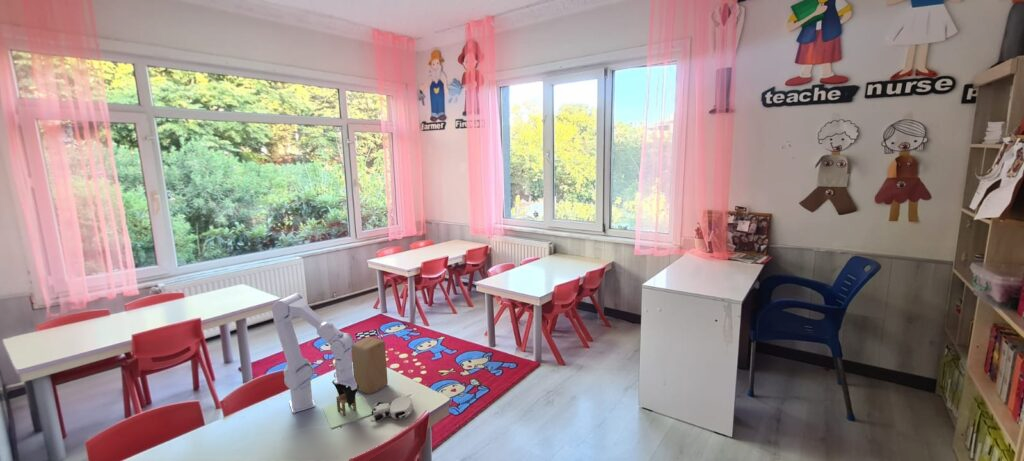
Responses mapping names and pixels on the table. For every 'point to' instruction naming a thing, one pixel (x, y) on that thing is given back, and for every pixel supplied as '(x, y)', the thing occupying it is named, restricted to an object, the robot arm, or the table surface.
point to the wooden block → (369, 364)
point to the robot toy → (392, 409)
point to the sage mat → (347, 412)
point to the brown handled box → (343, 400)
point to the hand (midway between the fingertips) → (346, 400)
